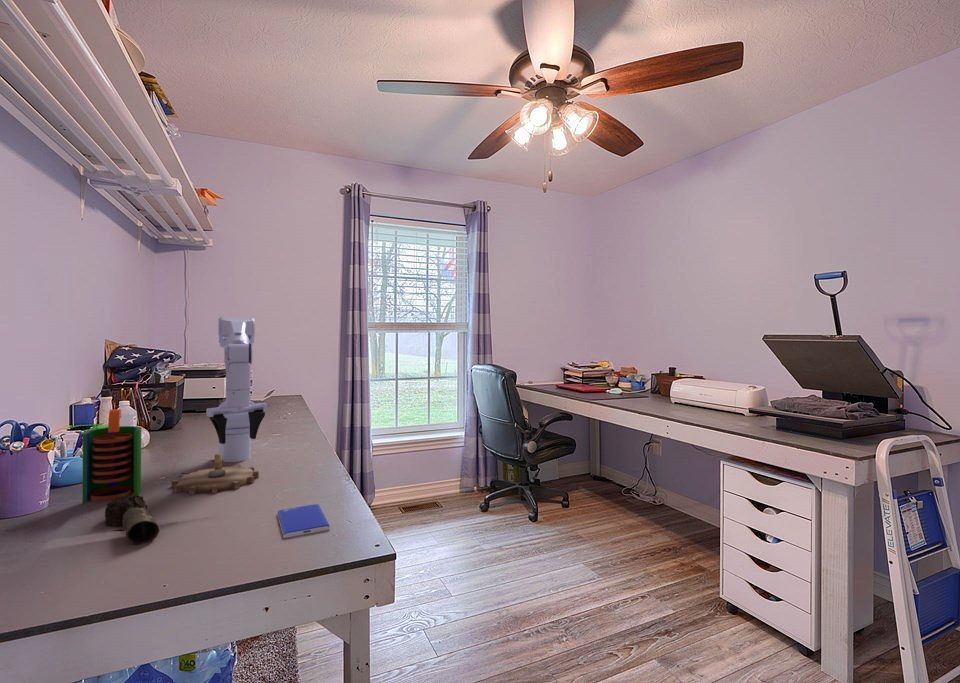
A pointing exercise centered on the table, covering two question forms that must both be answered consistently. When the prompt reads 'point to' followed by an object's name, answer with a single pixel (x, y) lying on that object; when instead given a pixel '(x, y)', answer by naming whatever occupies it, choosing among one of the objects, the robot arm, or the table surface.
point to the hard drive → (302, 520)
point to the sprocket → (215, 478)
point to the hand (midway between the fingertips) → (237, 440)
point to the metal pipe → (132, 518)
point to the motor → (111, 460)
